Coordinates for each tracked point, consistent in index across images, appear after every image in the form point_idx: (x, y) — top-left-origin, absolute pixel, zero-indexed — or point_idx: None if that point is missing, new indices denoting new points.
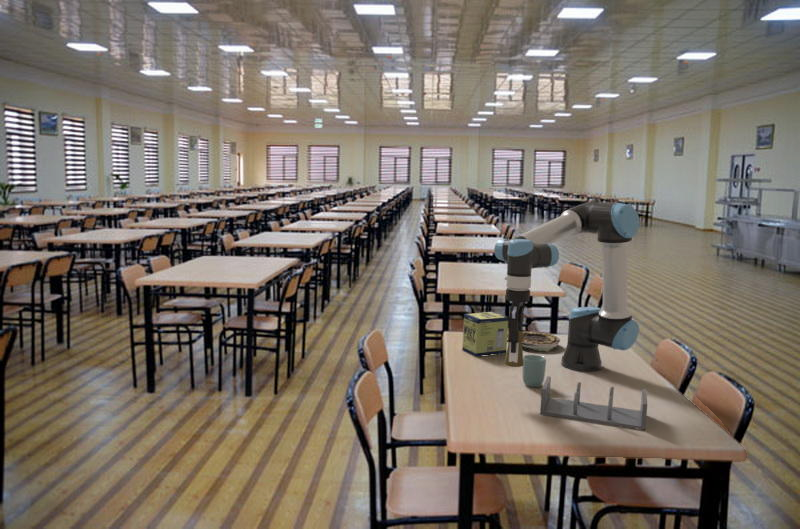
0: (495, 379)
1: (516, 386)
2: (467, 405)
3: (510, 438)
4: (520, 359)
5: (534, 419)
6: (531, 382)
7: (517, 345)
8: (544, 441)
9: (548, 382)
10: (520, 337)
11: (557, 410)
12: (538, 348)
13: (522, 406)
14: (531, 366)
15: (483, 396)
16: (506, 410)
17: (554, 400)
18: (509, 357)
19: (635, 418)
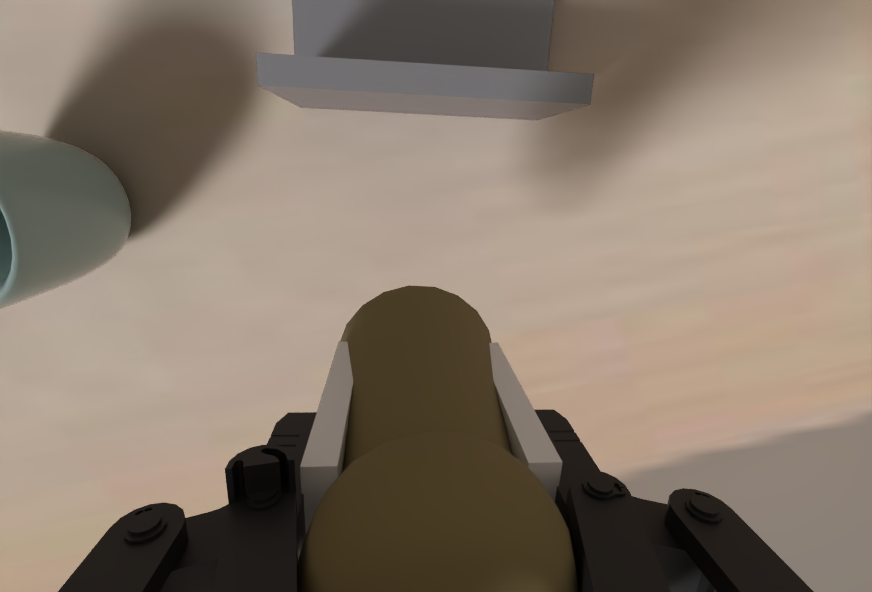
0: (106, 404)
1: (158, 288)
2: None
3: (850, 220)
4: (469, 329)
5: (614, 141)
6: (126, 212)
7: (547, 445)
8: (866, 70)
9: (415, 65)
10: (543, 497)
11: (502, 19)
12: None
13: (457, 219)
14: (57, 234)
15: None
16: (538, 283)
17: (337, 47)
18: None
19: None
